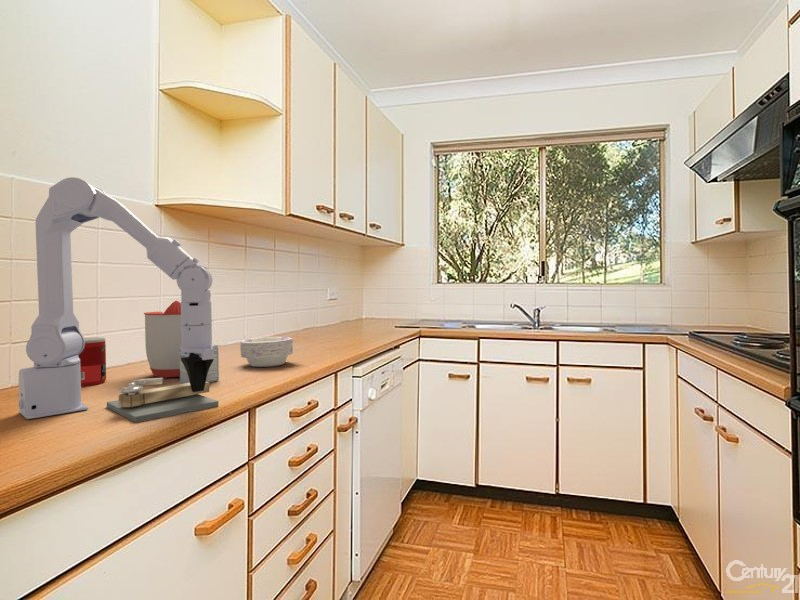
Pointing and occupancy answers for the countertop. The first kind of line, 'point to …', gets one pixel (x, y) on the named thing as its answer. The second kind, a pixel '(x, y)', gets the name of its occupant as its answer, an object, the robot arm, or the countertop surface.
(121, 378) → the countertop surface
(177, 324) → the citrus juicer
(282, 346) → the grey stone bowl
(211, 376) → the medicine box
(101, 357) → the canned food
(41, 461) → the countertop surface
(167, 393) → the link
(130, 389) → the pintle
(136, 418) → the base plate
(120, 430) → the countertop surface
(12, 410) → the countertop surface
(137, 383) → the keeper
